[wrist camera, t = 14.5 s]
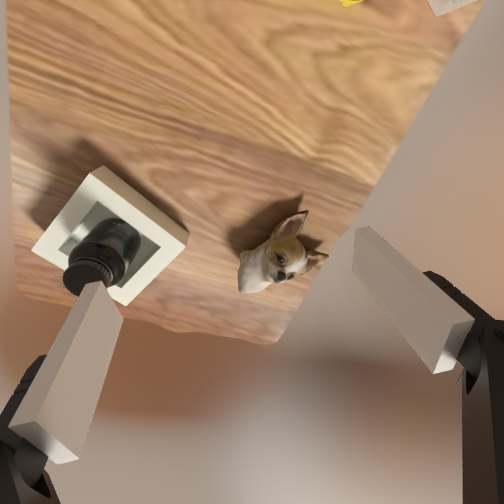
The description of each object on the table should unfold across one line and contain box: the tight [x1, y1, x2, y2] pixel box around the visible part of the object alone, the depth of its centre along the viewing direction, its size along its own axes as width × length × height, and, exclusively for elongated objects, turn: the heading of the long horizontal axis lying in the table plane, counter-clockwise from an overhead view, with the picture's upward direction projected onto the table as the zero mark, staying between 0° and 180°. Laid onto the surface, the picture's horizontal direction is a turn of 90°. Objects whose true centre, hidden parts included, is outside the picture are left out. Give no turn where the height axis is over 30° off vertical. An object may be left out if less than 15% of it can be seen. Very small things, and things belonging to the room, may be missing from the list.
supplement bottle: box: [63, 218, 141, 297], centre depth 37 cm, size 7×7×12 cm
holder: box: [31, 165, 189, 306], centre depth 41 cm, size 15×15×4 cm
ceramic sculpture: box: [238, 210, 329, 293], centre depth 43 cm, size 11×9×15 cm
